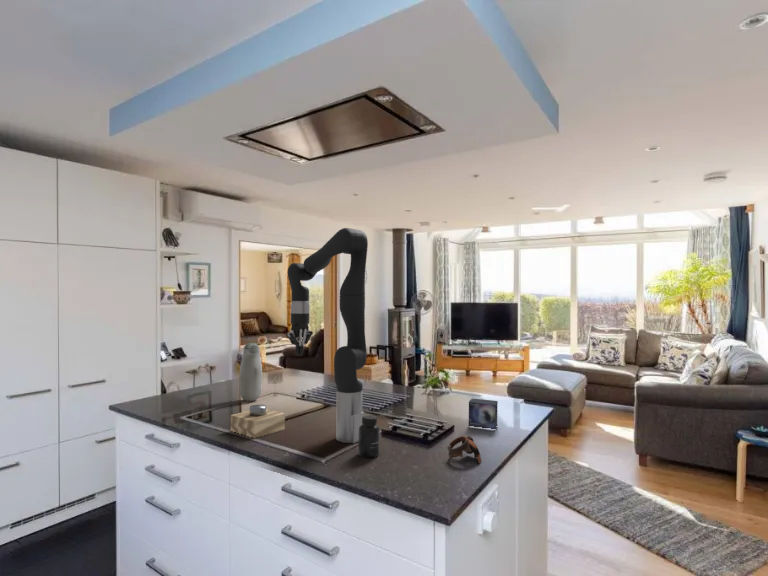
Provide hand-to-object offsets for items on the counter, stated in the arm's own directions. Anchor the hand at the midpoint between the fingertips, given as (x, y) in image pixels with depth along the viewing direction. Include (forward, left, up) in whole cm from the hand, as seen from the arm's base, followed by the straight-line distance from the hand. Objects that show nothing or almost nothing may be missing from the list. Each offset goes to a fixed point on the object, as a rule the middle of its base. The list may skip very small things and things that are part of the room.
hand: (299, 354), depth 175 cm
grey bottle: (+45, -11, -27) cm, 54 cm away
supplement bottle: (-45, +12, -27) cm, 54 cm away
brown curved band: (-72, -3, -27) cm, 77 cm away
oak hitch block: (+4, +17, -27) cm, 32 cm away
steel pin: (+4, +17, -26) cm, 32 cm away
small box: (-63, -38, -27) cm, 78 cm away
